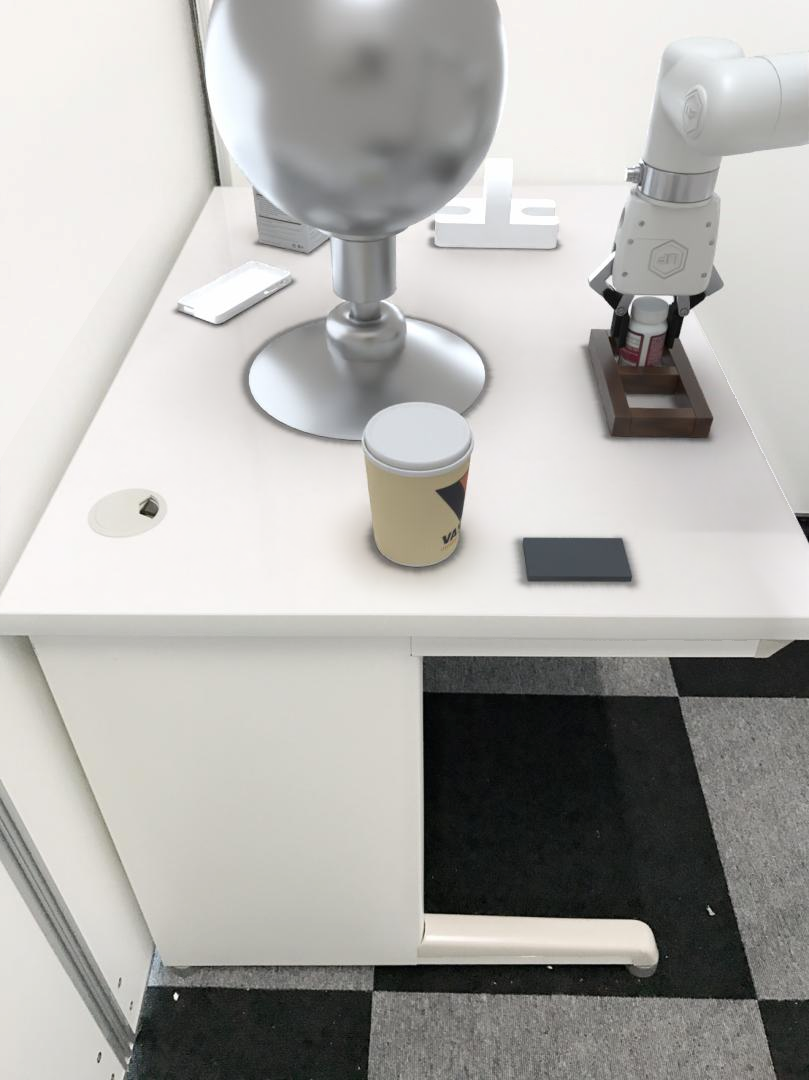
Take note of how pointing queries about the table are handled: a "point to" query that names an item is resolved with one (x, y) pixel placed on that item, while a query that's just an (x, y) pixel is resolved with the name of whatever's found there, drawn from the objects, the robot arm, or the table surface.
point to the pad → (576, 559)
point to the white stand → (497, 216)
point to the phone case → (234, 292)
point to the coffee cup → (417, 480)
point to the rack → (649, 379)
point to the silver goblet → (358, 179)
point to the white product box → (284, 228)
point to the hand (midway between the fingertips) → (642, 341)
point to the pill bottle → (645, 332)
